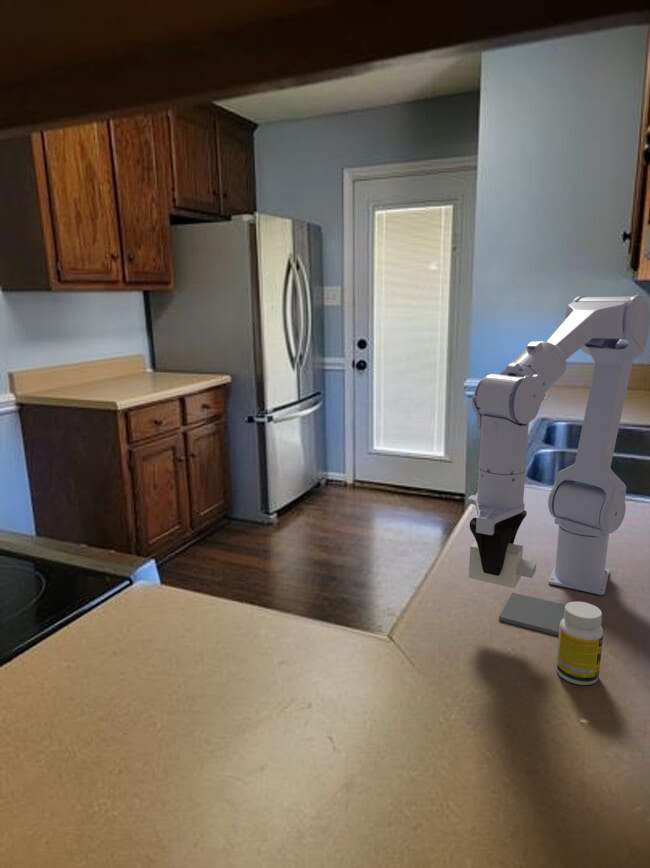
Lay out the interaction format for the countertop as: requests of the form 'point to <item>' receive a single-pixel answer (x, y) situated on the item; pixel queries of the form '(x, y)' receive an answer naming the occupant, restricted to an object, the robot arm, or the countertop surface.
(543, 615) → the coaster
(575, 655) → the supplement bottle
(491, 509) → the robot arm
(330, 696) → the countertop surface
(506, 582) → the block
